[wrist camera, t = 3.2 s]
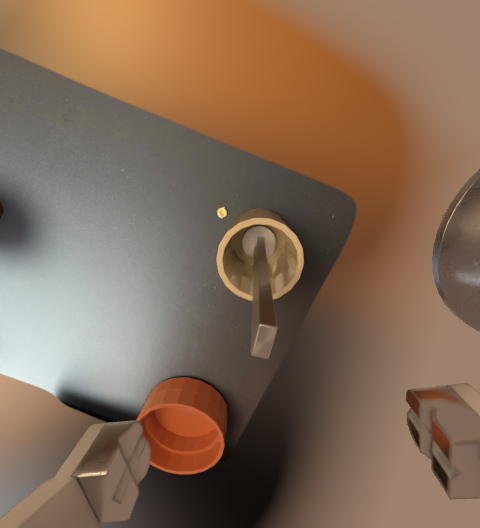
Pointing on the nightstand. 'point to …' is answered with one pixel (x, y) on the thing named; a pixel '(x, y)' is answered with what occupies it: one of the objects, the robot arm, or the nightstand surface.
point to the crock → (241, 265)
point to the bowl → (184, 425)
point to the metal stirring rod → (261, 289)
